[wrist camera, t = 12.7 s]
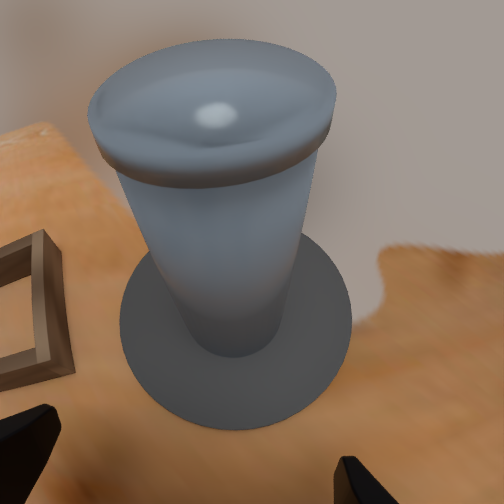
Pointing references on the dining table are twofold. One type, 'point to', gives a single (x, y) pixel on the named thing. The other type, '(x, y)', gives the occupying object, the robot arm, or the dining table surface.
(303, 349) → the rubber mat
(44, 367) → the jug holder
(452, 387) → the dining table surface
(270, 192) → the jug
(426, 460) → the dining table surface
